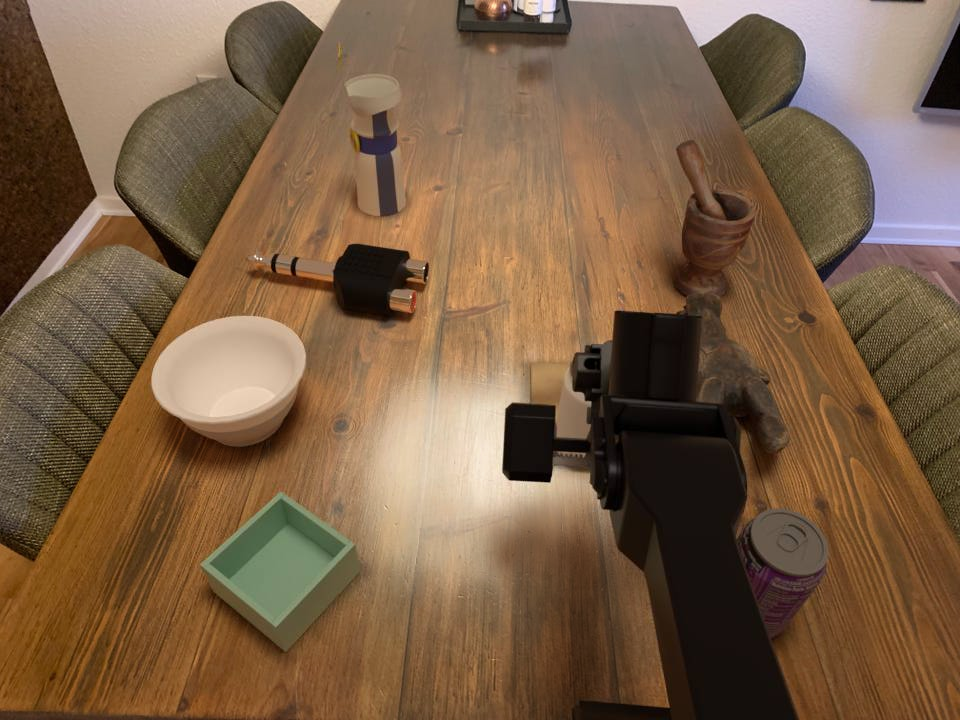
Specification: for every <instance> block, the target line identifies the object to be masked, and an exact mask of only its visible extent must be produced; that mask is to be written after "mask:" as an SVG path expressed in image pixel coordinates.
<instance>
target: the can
mask: <svg viewBox="0 0 960 720" xmlns="http://www.w3.org/2000/svg"><path fill="white" fill-rule="evenodd" d="M569 364H570V367H569V368H568V369H567V371H566V373H565V376H564V380H563V385H562V391H561V397H560V404H559V410H558V416H557V423H556V425H557V437H564V438H583V439H586V438H587V435H588V433H589V431H590V426H591V424H587V423H586V420H587V407H591V402H590V401H585V399H584V394H583V393H581V392H574V391H573V389H572V365H573V359H572V360H571V362H570V363H569ZM557 452H558V453H559V455H560V454H561V453H562V454H563V457H564V456H565V454H566V453H567V454H568V457H569V456H570V454H572V455H573V457H574V456H575V454H577V455H578V458H579V456H580V454H582V456H583V458H584V456H585V454H586V453H578V452H559V451H557Z"/></svg>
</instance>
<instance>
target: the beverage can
mask: <svg viewBox="0 0 960 720" xmlns="http://www.w3.org/2000/svg"><path fill="white" fill-rule="evenodd" d="M736 538H737V542H738V546H739V549H740V552H741V555H742V558H743V561H744V564H745V566H746V569H747V572H748V575H749V578H750V581H751V584H752V586H753V589H754V592H755V595H756V598H757V601H758V603H759V606H760V609H761V612H762V615H763V618H764V620H765V623H766V626H767V629H768V632H769V635H770V637H771V640H772V639H775V638H777V637H779V636H780V635H781V634H782V633H783V632H784V630H786V628H787V627H788V625H789V624H790V623H791V621H792V620H793V619H794V617H795V616H796V615H797V613H798V612H799V611H800V610H801V608H802V607H803V605H805V603H806V602H807V601H808V599H809V598H810V596H811V595H812V593H814V592H815V590H816V588H817V587H818V586H819V585H820V584H821V582H822V580H823V579H824V578H825V577H824V576H825V575H826V571H827V562H828V559H829V556H830V549H829V543H828V541H827V539H826V535H824V533H823V531H822V530H821V529H820V527H818V526H817V524H816V523H814V522H813V521H812V520H811V519H810V518H808V517H807V516H805V515H804V514H801V513H799V512H798V511H794V510H792V509H788V508H779V507H778V508H770V509H766V510H764V511H762V512H760V513H759V514H758V515H756V517H754V518H752V519H751V520H749V521H748V522H747V523H746V524H745V525H744V526H743V528H742V529H741V531H740V533H739V534H738V535H737V537H736Z"/></svg>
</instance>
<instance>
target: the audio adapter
mask: <svg viewBox="0 0 960 720" xmlns="http://www.w3.org/2000/svg"><path fill="white" fill-rule="evenodd" d="M244 260H245V261H246V262H247V263H248V264H249V265H250V266H251V267H252V268H253V269H254V270H255V271H260V270H261V269H262V268H263V267H264V268H265V269H266V271H267V272H268V273H270V274H271V273H272V274H278V275H284V276H289V277H298V278H302V279H308V280H314V281H315V280H316V281H321V282H327V283H333V288H334V290H335V294H336V295H335V296H336V301H337V304H338V305H339V307H340V308H341V309H344V310H351V311H358V312H363V313H370V314H375V315H381V316H387V317H390V316H392V315H393V314H394V312H401V313H407V314H412V313H414V311H415V308H416V305H417V298H418V297H417V296H418V295H417V291H416V290H415V289H412V288H411V289H410V288H406V286H407V284H408V282H409V283H410V282H411V283H417V284H423V285H425V284H426V283H427V281H428V278H429V273H430V263H429V261H427V260H421V259H414V258H411V254H410V252H409V251H408V250H403V249H396V248H389V247H385V246H384V247H383V246H377V245H371V244H364V243H349V244H348V245H347V247H346V248H345V250H344V251H343V254H341V256H339V257H338V258H337V260H336V262H333V261H328V260H321V259H314V258H309V257H308V258H307V257H300V256H294V255H288V254H282V253H276V252H270V253H269V254H267V256H264V254H263V251H261V250H256V251H255V252H253V253H251V254H249V255H247V256H245V258H244Z"/></svg>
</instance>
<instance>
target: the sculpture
mask: <svg viewBox="0 0 960 720" xmlns="http://www.w3.org/2000/svg"><path fill="white" fill-rule="evenodd" d="M721 299H722V298H720V297H718V296H717V295H715V294H710V293H703V292H701V293H695V294H691V295H689V296H686V301H685V305H683V306H682V309H683V310H678V311H676V313H675V314H684V315H691V316H702V326H701V340H700V353H699V367H698V380H697V394H696V401H698V402H708V403H721V404H725V406H726V409H727V412H728V414H730V415H733V416H734V417H741V418H743V417H746V416H747V415H748V416H749V417H750V419H751V420H752V422H753V424H754V425H755V427H756V434H757V436H758V439H759V441H760V444H761V445H762V448H763V449H764V450H765V451H766V452H767V453H768V454H769V455H770V454H771V455H775V454H778V453H781V452H782V451H783V450H784V449H786V448H787V446H788V445H789V443H790V439H791V436H790V432H789V428H788V427H787V426H786V425H785V424H784V423H783V421H782V417H781V412H780V408H779V405H778V403H777V400H776V398H775V396H774V394H773V393H772V390H771V389H770V388H769V386H768V385H769V384H770V383H771V382H772V380H773V377H772V375H771V374H770V373H769V372H768V371H766V370H765V369H763V368H762V367H759V366H758V365H757V362H756V360H755V359H754V357H753V355H752V354H751V353H750V351H749V350H748V349H747V348H746V347H744V345H742V344H740V343H739V342H737V341H735V340H733V339H730V338H728V336H727V335H728V334H727V331H726V327H725V325H724V324H723V322H722V319H721V315H722V310H723V303H722V300H721Z"/></svg>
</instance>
